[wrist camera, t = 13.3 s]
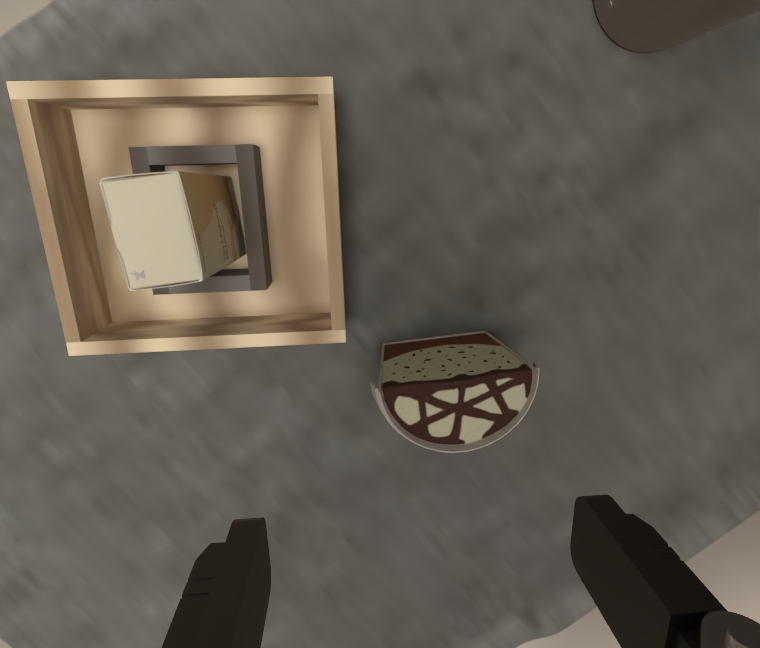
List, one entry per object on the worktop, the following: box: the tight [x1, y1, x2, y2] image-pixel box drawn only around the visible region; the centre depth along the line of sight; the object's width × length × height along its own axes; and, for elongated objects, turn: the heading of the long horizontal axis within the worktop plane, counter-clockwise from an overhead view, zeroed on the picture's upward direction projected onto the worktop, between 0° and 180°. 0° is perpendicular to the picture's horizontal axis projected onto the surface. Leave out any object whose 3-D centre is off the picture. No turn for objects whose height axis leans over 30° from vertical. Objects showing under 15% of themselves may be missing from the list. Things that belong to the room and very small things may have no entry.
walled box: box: [6, 77, 346, 356], centre depth 36 cm, size 20×18×6 cm
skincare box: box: [100, 171, 246, 291], centre depth 32 cm, size 6×4×12 cm
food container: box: [370, 330, 539, 453], centre depth 39 cm, size 12×6×10 cm, turn 96°
